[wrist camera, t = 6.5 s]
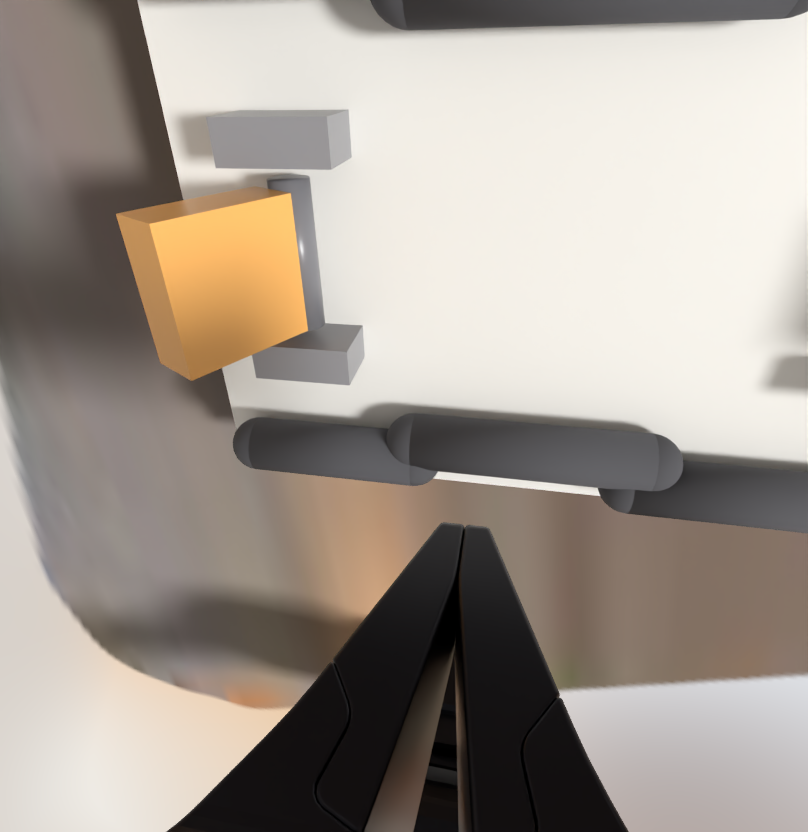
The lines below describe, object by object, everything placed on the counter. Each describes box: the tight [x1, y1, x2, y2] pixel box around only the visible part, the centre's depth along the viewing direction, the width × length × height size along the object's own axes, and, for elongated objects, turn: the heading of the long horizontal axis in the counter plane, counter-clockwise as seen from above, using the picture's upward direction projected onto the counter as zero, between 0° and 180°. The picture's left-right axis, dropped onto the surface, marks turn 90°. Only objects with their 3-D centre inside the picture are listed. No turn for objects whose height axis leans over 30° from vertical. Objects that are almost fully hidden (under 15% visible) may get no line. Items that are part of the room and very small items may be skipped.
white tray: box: [137, 0, 808, 496], centre depth 16 cm, size 18×24×5 cm
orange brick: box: [116, 174, 325, 381], centre depth 15 cm, size 4×2×5 cm
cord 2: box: [233, 413, 808, 533], centre depth 19 cm, size 3×24×2 cm, turn 91°
